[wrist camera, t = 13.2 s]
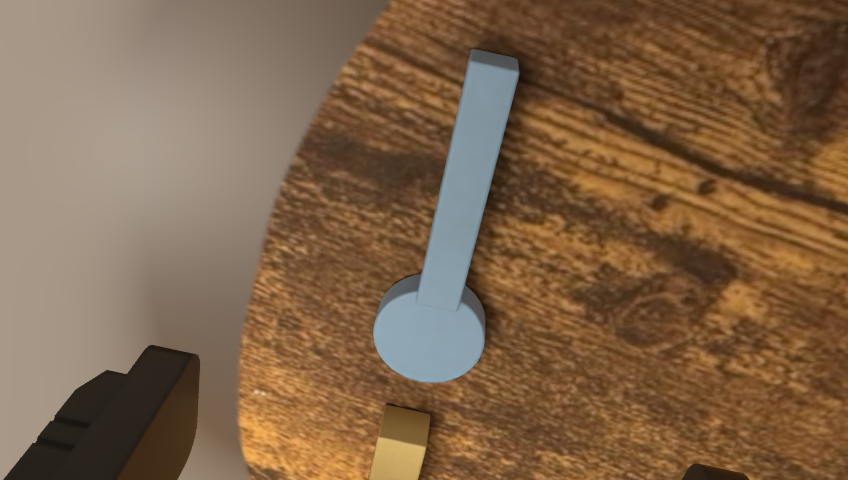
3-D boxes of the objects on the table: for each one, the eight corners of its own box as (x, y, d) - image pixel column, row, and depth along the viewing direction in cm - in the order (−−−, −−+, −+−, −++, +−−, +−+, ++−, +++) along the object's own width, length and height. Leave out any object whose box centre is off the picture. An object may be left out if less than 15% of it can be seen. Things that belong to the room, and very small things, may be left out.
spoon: (430, 39, 20) (425, 51, 19) (559, 66, 20) (564, 81, 19) (370, 350, 25) (363, 378, 24) (472, 371, 25) (470, 400, 24)
